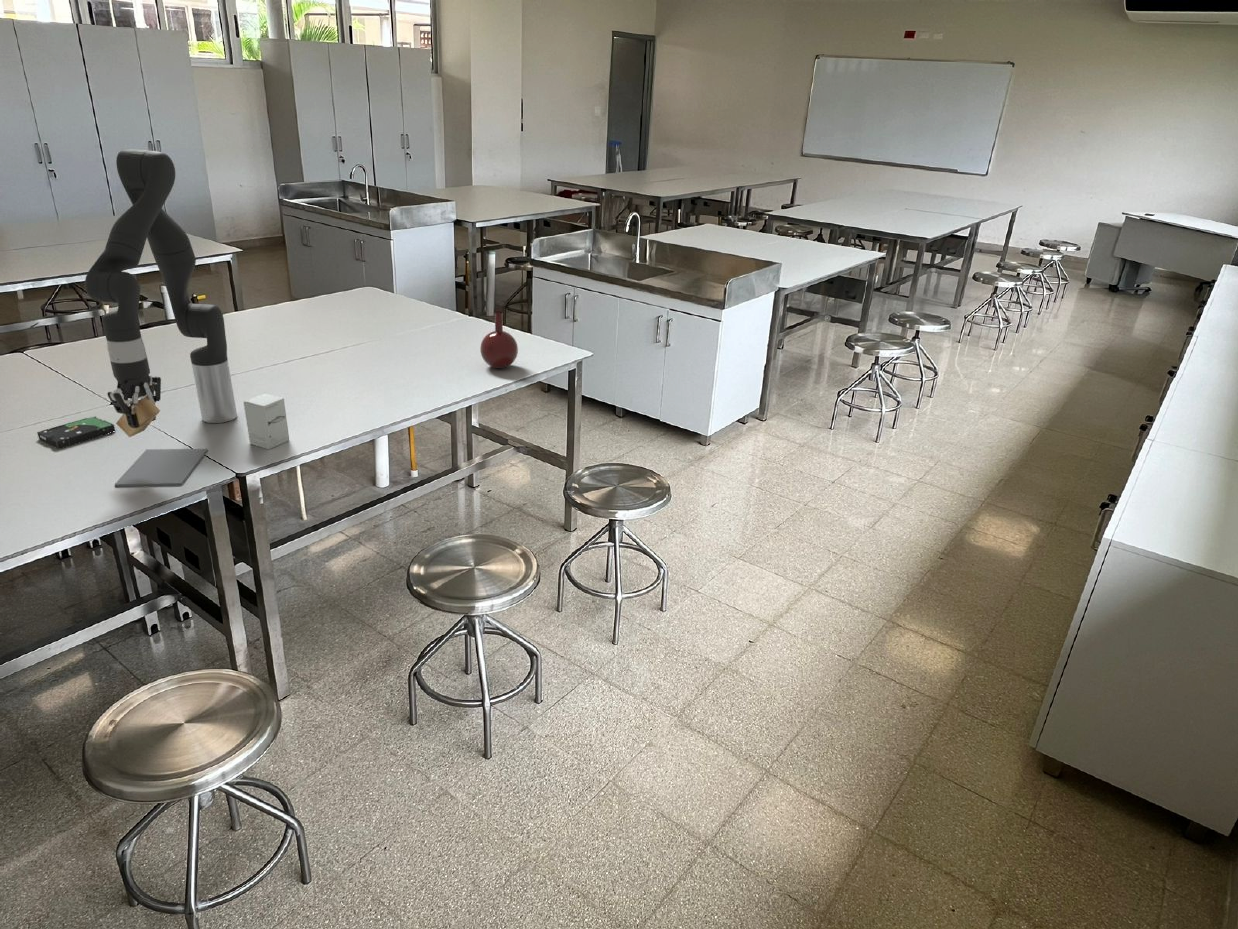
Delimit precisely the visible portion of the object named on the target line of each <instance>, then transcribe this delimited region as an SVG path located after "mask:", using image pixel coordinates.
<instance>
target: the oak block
mask: <svg viewBox="0 0 1238 929" xmlns="http://www.w3.org/2000/svg"><path fill="white" fill-rule="evenodd" d="M129 409H130V405H129ZM135 409H136V414H137V419H138V423H139V427H138V428H131V427H130V426H129V425H128V422H127V418H126V414H122V415H121V416H120V418H119V419H118V420H117V422H115V424H116V425H117V426H118V427H119V428H120V429H121V430H122V431H123V433H124V434H126V436H128V438H131V437H134V436H135V435H137V434H140V433H142V432H144V431H146V429H147V428H148V426H149V425H150V424H151V423H152V422H153V421H152V420H153V419H154V418H155V417H157V415H159V413H160V412H161V409H159V407H158V406H156V404H155V405H154V404H153V403H152V402H151V400H148V399H147V398H146V397H145V398H142V399H141V398H139V399H138V404H137V405H136V406H135Z"/></svg>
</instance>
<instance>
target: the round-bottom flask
mask: <svg viewBox="0 0 1238 929" xmlns="http://www.w3.org/2000/svg"><path fill="white" fill-rule="evenodd" d="M503 315H504V312H503V311H500V310H497V311H494V330H493V331H490V332H489V333H487V334H486V335H485V336H484V337H483V338H482V340H481V343H480V347H479V349H480V356H481V358H482V360H483V361H484V362H485V364H486V365H488V366H490V367H492V368H494V369H504V368H507V367H509V366H511V365H512V364H513V363H514V362H515V361H516V359H517V357H518V353H519V352H518V351H519V348H518V343H517V340H516V339H515V338H514V337H513V335H512V334H510V333H509V332H506V331H504V330H503V328H504V327H503Z"/></svg>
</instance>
